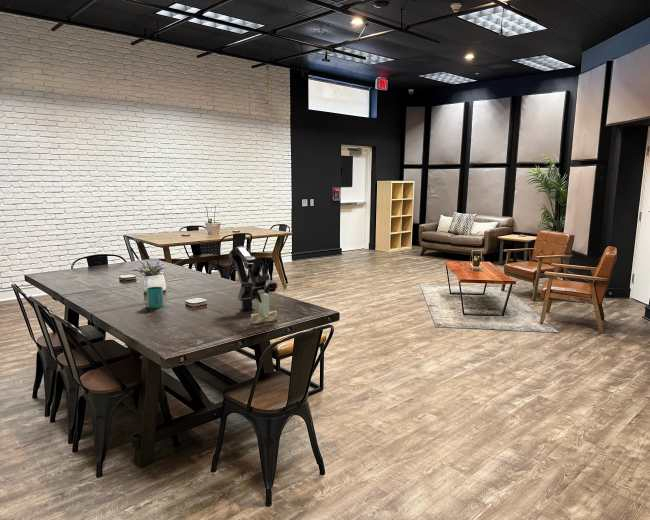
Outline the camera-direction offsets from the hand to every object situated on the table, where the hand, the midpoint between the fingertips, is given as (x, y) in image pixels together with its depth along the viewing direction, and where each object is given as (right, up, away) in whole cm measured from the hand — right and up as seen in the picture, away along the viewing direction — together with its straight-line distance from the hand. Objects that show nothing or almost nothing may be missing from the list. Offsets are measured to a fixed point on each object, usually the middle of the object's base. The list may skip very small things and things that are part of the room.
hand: (264, 302), depth 253 cm
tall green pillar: (0, -6, +1) cm, 7 cm away
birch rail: (0, -10, +2) cm, 11 cm away
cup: (-68, -6, +32) cm, 75 cm away
